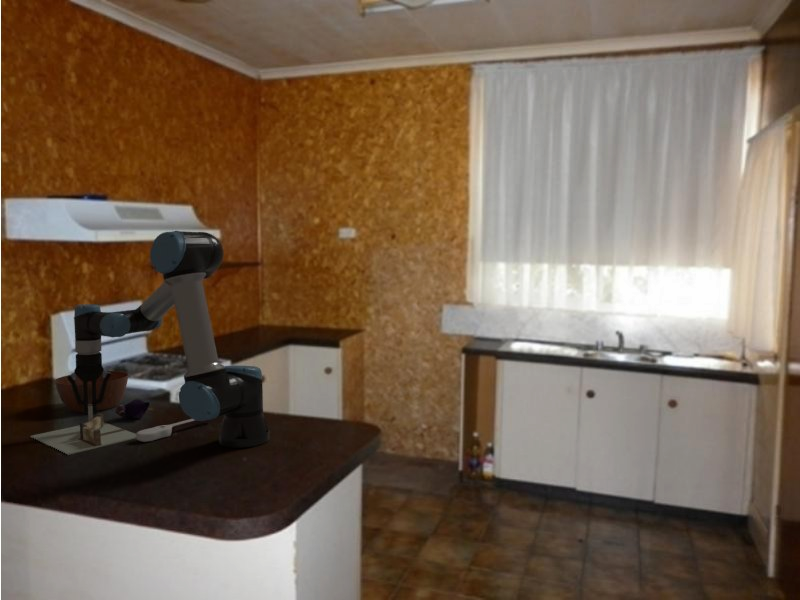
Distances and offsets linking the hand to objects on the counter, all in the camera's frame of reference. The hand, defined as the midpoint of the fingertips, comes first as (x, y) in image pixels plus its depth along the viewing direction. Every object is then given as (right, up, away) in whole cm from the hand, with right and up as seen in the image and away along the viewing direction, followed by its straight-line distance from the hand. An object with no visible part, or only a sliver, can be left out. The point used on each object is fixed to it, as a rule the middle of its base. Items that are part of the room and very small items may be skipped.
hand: (90, 424), depth 203 cm
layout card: (+1, -3, -6) cm, 6 cm away
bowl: (-15, 0, +33) cm, 36 cm away
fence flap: (+2, -2, -2) cm, 3 cm away
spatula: (+28, -2, -1) cm, 29 cm away
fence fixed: (+6, -3, -12) cm, 14 cm away
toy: (+9, -1, +16) cm, 18 cm away
